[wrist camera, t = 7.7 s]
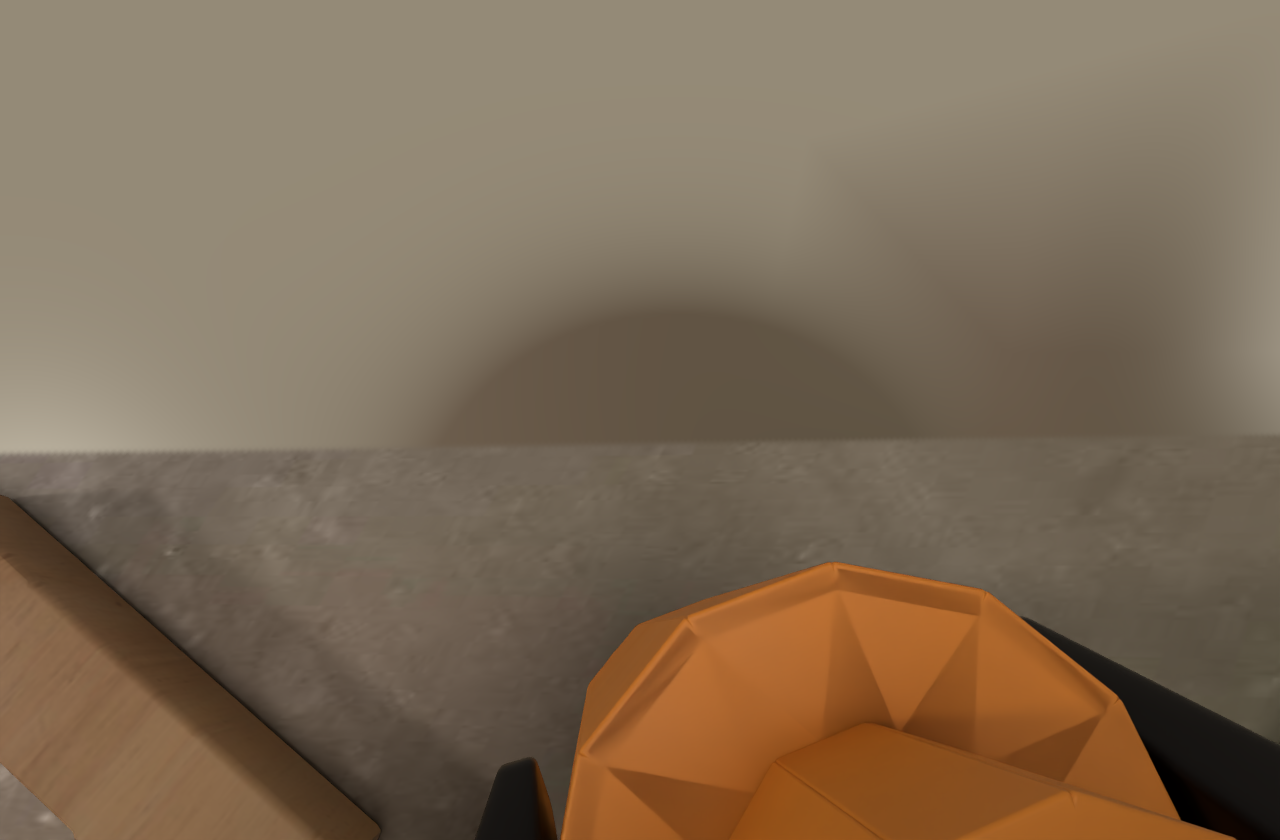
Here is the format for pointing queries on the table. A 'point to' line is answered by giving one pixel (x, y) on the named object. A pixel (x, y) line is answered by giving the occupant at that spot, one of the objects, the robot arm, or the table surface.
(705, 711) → the bottle
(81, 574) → the wooden block
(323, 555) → the table surface
